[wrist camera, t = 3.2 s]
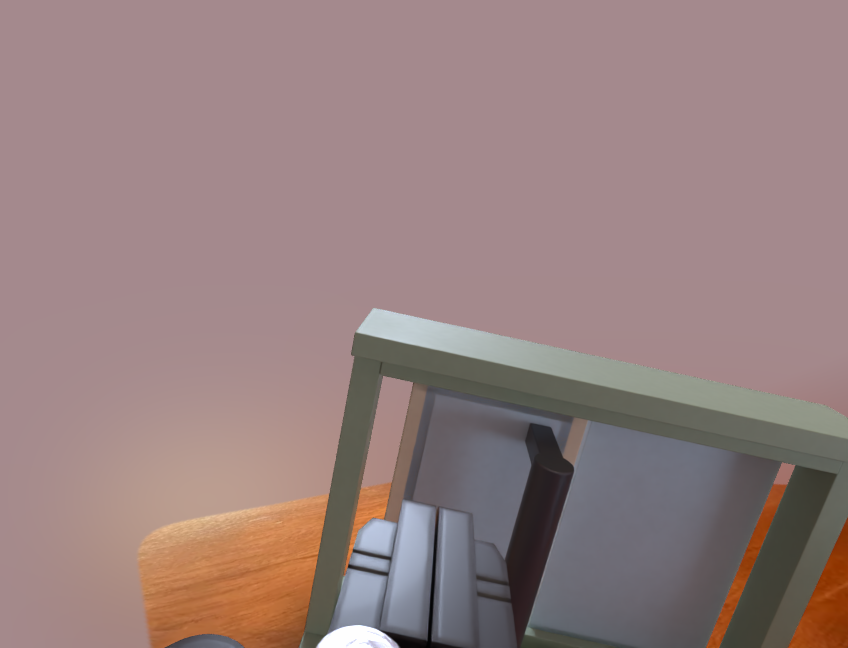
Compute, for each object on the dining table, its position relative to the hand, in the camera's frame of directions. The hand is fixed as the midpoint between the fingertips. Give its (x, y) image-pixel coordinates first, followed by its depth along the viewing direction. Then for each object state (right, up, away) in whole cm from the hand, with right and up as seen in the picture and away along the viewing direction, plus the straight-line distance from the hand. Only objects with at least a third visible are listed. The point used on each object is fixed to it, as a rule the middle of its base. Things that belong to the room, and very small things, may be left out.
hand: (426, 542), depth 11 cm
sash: (+1, -12, +14) cm, 18 cm away
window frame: (+5, -14, +17) cm, 22 cm away
